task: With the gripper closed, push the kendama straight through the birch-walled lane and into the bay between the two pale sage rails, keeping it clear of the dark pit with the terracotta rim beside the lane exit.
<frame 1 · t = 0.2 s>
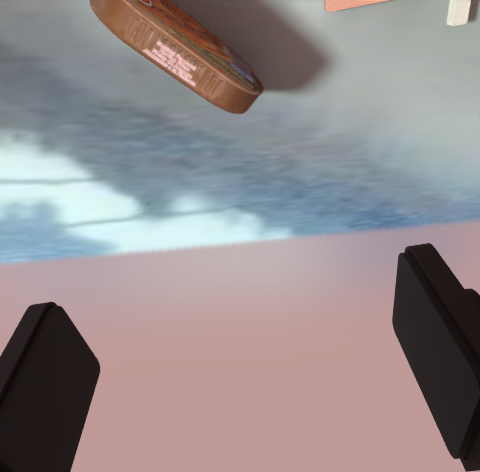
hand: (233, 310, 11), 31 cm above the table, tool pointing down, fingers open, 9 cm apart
tin: (186, 36, 34), on the table
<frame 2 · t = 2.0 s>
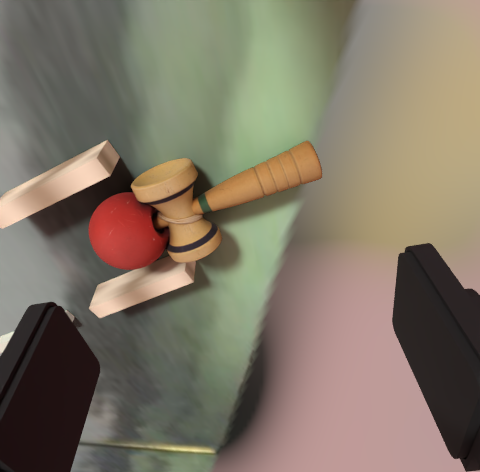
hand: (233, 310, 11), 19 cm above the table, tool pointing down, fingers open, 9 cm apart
lane: (107, 228, 32), on the table
kendama: (204, 184, 31), on the table
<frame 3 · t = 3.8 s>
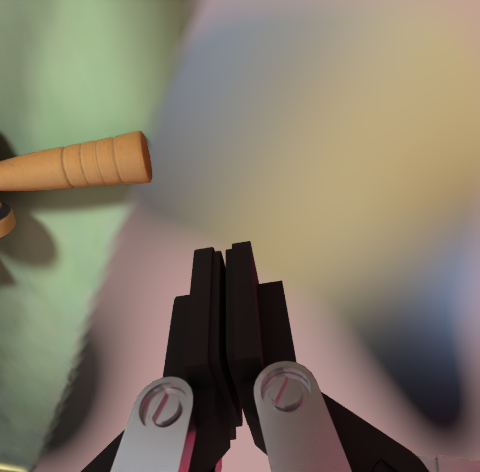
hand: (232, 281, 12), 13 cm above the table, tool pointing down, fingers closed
kendama: (8, 154, 23), on the table
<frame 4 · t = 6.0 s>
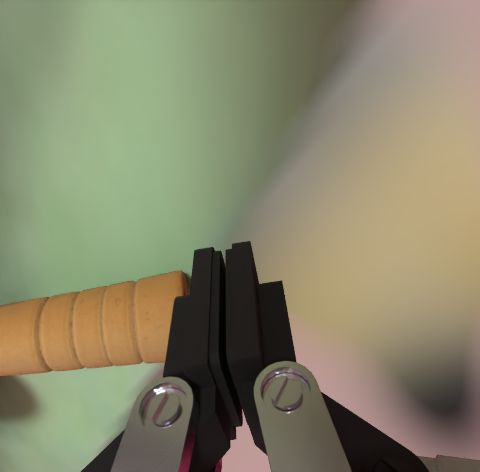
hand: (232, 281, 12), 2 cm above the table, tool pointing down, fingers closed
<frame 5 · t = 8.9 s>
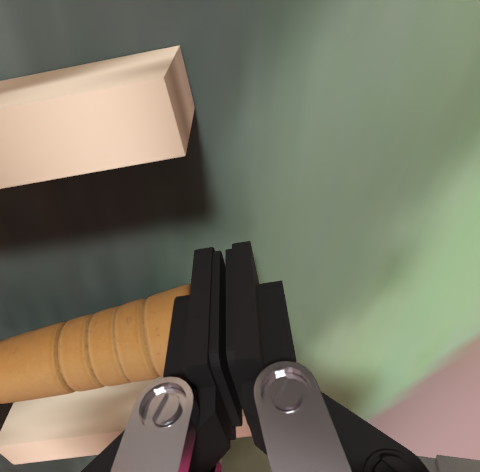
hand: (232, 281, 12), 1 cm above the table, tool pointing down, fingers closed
lane: (89, 275, 13), on the table
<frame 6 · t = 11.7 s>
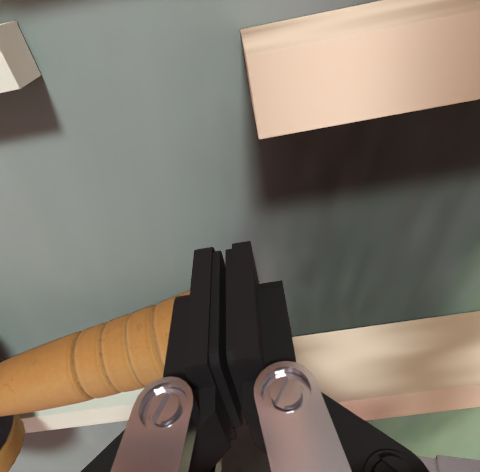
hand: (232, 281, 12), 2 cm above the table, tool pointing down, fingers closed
lane: (425, 219, 12), on the table
kendama: (1, 333, 15), on the table, touching gripper
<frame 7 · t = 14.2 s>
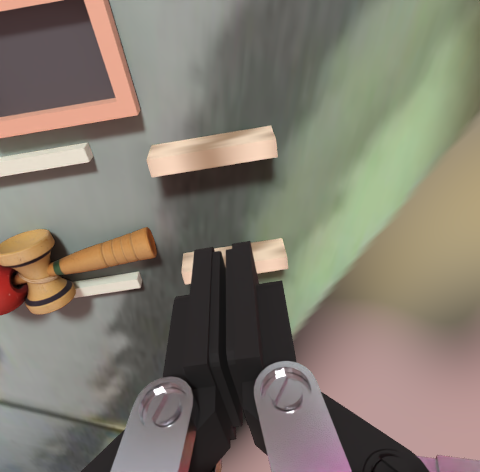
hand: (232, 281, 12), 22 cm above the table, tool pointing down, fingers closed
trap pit: (41, 60, 27), on the table
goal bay: (66, 228, 35), on the table
lane: (224, 202, 35), on the table
kendama: (67, 248, 37), on the table
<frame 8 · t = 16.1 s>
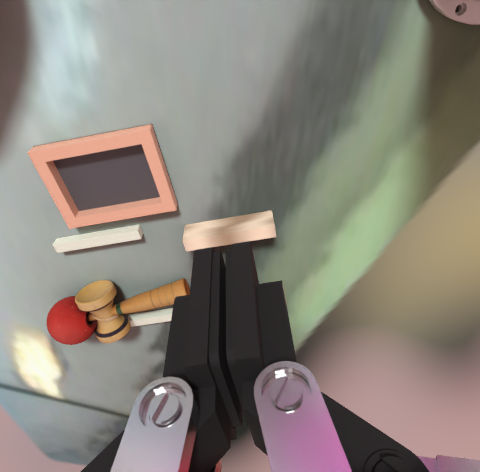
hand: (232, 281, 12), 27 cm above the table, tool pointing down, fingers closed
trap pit: (109, 176, 39), on the table
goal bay: (121, 279, 48), on the table
lane: (238, 260, 47), on the table
kendama: (123, 292, 50), on the table
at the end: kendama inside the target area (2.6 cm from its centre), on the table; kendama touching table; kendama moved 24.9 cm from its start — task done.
